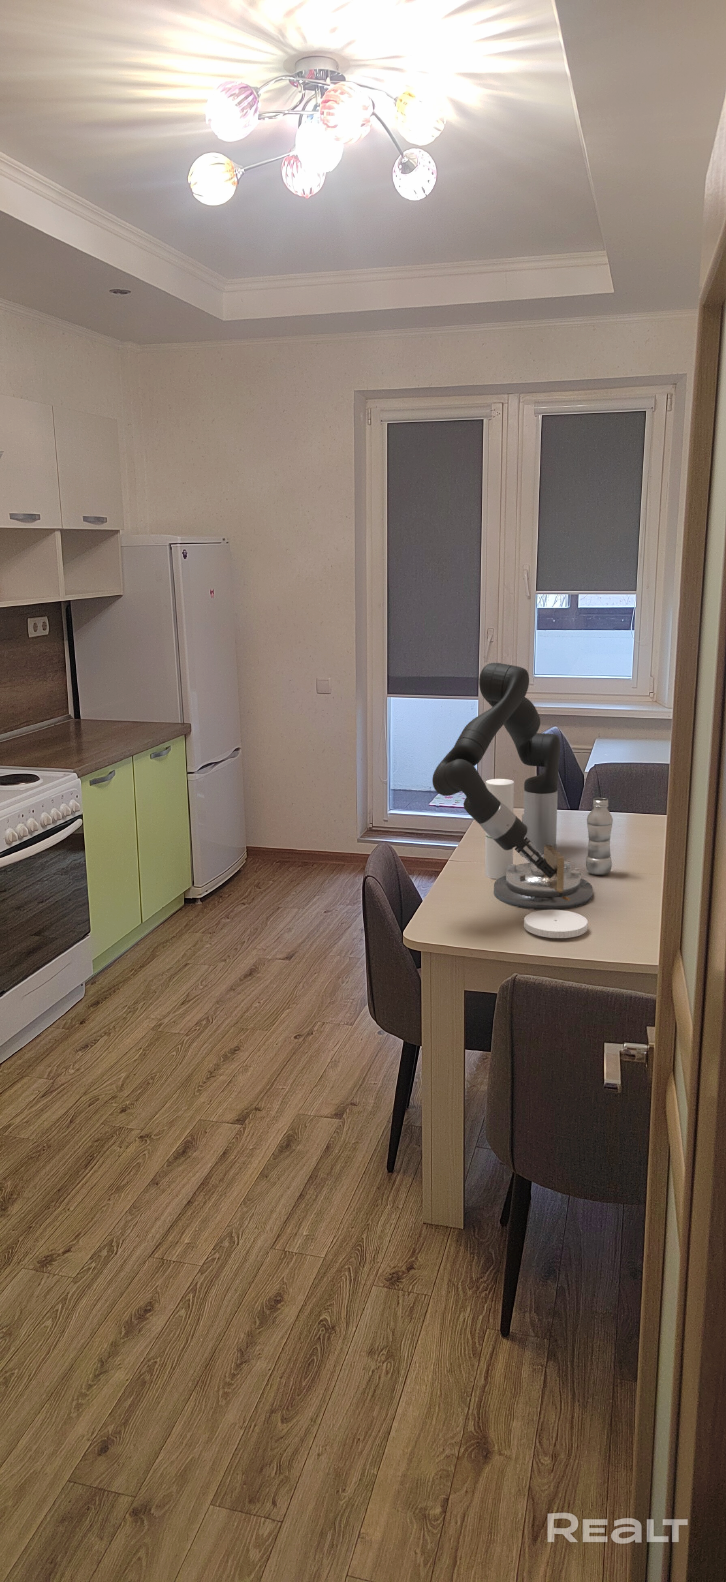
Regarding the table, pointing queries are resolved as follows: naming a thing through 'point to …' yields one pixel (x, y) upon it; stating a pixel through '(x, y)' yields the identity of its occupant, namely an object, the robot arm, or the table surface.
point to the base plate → (543, 902)
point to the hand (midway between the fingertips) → (552, 874)
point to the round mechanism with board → (544, 877)
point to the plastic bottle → (599, 838)
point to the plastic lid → (555, 923)
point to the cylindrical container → (493, 851)
